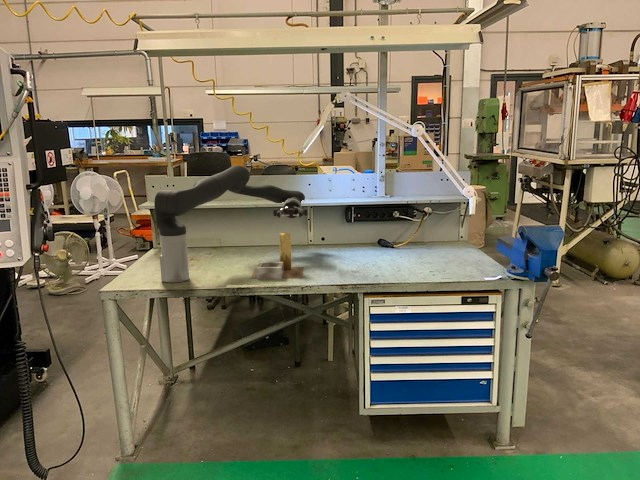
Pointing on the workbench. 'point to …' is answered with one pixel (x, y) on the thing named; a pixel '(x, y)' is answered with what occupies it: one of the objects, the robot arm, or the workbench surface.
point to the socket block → (276, 271)
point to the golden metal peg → (285, 250)
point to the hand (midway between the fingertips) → (289, 214)
